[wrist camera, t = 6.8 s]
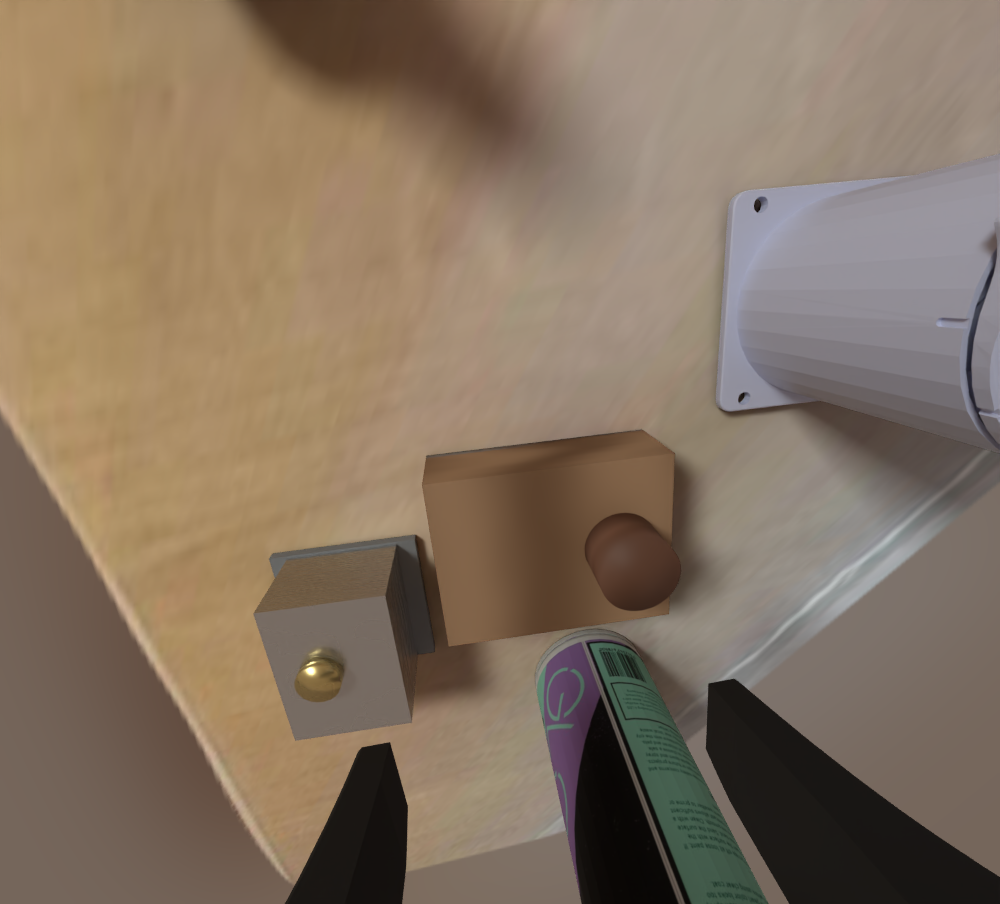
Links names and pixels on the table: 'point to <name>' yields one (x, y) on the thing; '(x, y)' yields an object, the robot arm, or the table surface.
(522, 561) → the body
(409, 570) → the mat
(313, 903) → the robot arm
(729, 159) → the table surface
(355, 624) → the grey knob block
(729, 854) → the spray can
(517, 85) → the table surface
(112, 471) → the table surface
